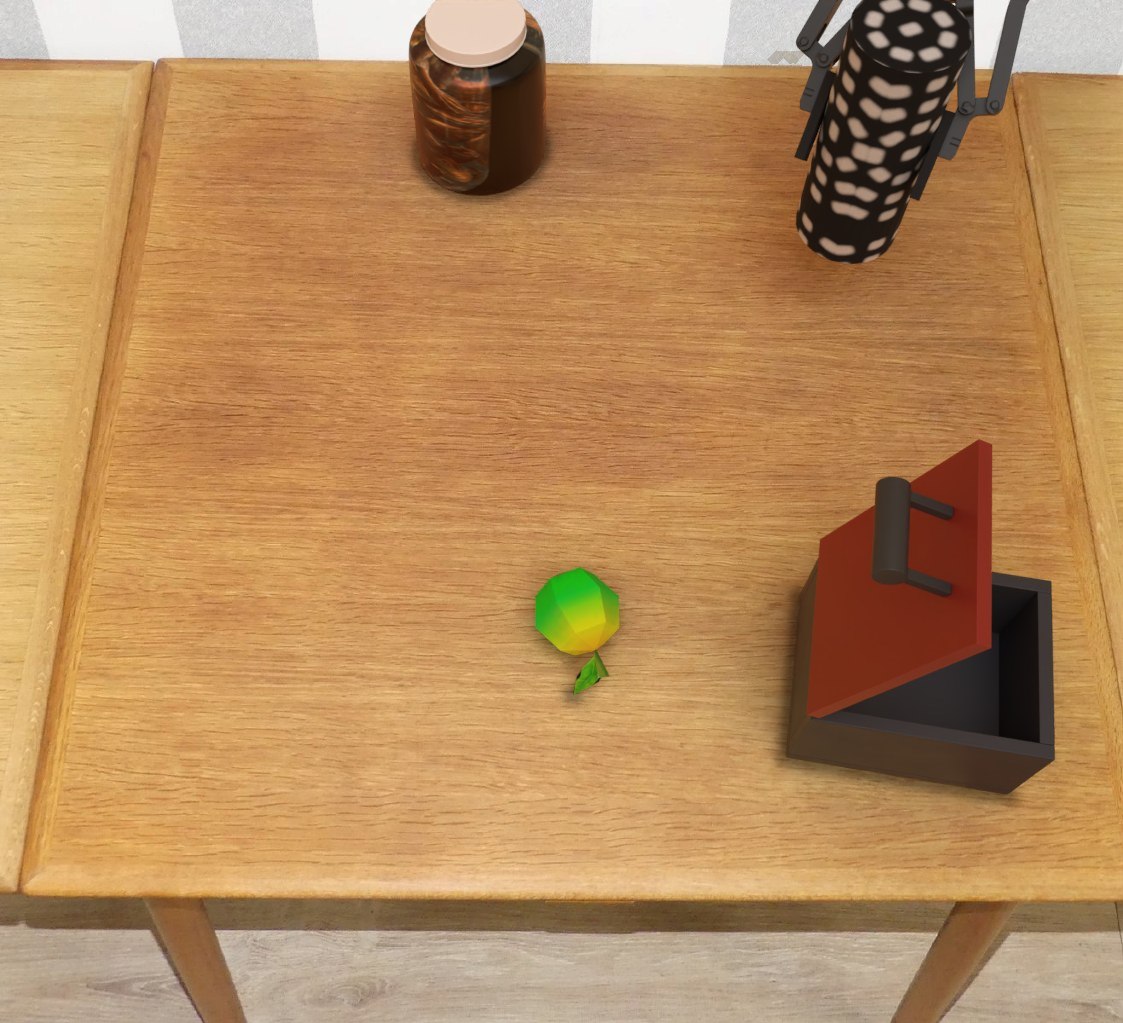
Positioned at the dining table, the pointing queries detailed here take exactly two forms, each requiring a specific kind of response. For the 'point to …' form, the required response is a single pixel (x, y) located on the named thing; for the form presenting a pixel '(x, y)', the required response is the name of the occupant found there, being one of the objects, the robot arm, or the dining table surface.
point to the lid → (905, 584)
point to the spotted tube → (880, 124)
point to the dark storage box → (946, 704)
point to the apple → (578, 618)
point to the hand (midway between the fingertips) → (857, 178)
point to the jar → (478, 94)
